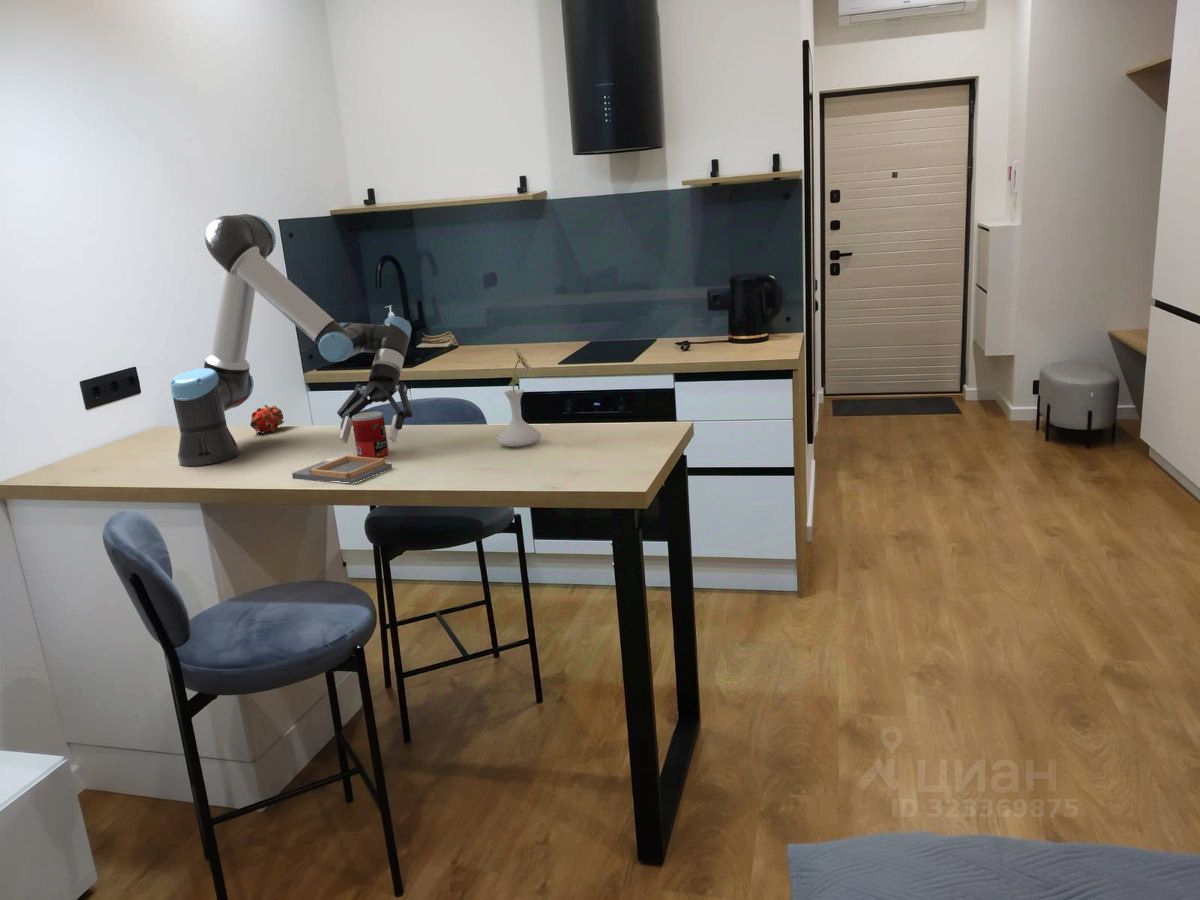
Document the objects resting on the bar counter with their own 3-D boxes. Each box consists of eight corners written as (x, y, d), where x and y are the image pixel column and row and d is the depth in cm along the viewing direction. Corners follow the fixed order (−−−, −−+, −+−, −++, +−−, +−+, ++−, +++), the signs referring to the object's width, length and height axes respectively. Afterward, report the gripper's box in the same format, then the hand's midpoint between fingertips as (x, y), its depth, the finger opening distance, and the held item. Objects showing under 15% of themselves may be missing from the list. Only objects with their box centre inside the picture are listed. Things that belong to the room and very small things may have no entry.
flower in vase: (531, 450, 230) (521, 350, 224) (489, 450, 234) (478, 352, 228) (550, 436, 242) (541, 341, 236) (510, 436, 246) (500, 343, 239)
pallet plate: (292, 477, 224) (291, 468, 223) (332, 462, 235) (330, 453, 234) (353, 484, 214) (352, 474, 213) (392, 468, 225) (390, 459, 224)
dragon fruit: (288, 431, 282) (259, 447, 273) (267, 415, 284) (237, 430, 274) (294, 410, 277) (264, 426, 268) (273, 394, 279) (242, 409, 269)
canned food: (381, 460, 233) (375, 418, 230) (352, 461, 235) (345, 419, 232) (394, 452, 240) (388, 410, 237) (365, 453, 242) (359, 411, 239)
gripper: (435, 376, 244) (418, 446, 234) (350, 379, 251) (330, 448, 241) (424, 360, 238) (406, 432, 228) (337, 363, 244) (316, 433, 234)
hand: (367, 440), depth 234 cm, fingers open, 13 cm apart
